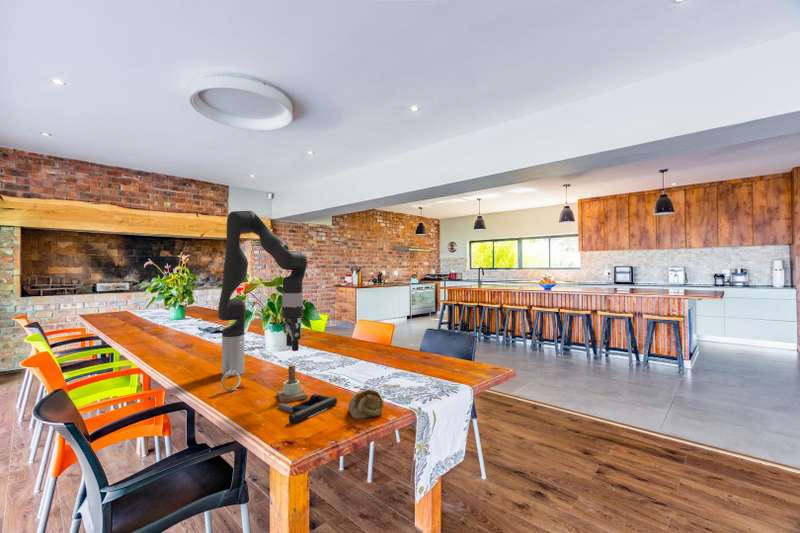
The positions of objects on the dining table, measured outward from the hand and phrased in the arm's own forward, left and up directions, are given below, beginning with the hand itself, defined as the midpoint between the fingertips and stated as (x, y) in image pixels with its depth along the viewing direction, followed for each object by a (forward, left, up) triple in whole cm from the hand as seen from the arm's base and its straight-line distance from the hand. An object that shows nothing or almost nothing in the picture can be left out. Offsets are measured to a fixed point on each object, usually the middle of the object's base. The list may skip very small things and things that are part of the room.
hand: (292, 348), depth 136 cm
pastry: (+25, +19, -19) cm, 37 cm away
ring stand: (0, 0, -18) cm, 18 cm away
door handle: (+14, +1, -19) cm, 23 cm away
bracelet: (-18, -19, -18) cm, 32 cm away
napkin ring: (0, 0, -17) cm, 17 cm away
